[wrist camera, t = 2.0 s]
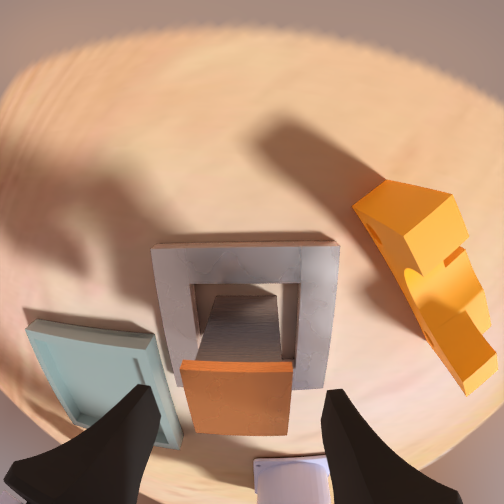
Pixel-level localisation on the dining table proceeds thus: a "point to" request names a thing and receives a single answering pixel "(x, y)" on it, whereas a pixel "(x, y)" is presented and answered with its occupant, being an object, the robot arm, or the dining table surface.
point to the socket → (250, 272)
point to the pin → (240, 371)
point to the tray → (102, 372)
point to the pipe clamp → (433, 274)
